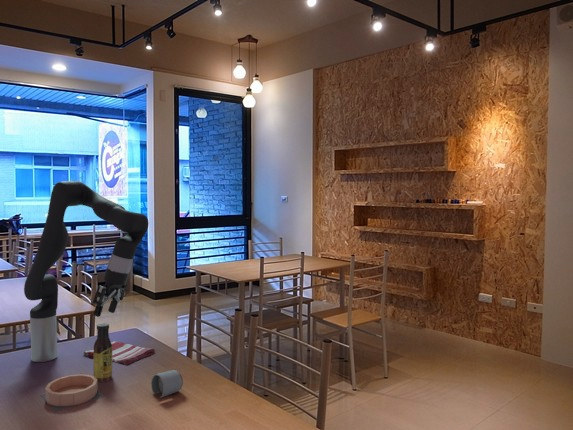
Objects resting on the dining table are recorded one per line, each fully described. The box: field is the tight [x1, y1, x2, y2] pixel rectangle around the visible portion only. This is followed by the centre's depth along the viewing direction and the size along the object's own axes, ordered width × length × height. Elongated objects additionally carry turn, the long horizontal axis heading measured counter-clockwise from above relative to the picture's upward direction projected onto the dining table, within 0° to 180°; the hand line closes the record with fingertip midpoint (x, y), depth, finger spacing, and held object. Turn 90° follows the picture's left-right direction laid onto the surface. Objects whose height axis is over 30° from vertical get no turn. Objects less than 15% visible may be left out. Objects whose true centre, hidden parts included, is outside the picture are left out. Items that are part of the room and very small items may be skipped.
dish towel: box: [83, 340, 156, 366], centre depth 194 cm, size 17×23×3 cm
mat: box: [40, 390, 105, 413], centre depth 154 cm, size 15×15×1 cm
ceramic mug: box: [150, 369, 184, 399], centre depth 159 cm, size 11×8×8 cm
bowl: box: [44, 373, 99, 407], centre depth 154 cm, size 15×15×4 cm
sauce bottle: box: [93, 323, 113, 383], centre depth 168 cm, size 6×6×20 cm
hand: (103, 314), depth 161 cm, fingers open, 8 cm apart
